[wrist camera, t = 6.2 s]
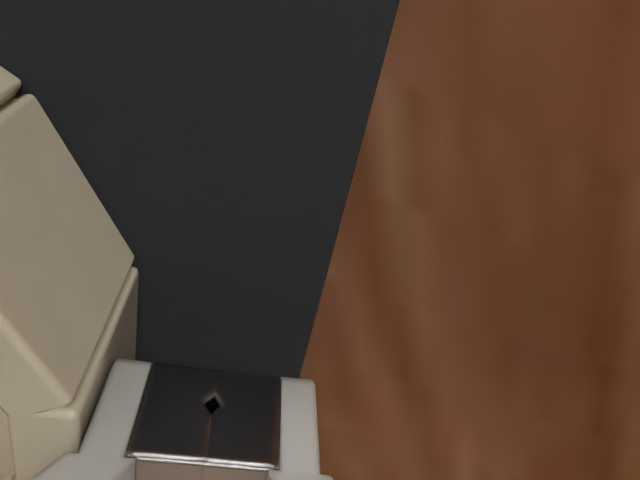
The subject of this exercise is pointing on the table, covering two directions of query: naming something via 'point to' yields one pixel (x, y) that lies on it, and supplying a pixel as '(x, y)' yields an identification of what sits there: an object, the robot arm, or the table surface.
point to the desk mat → (211, 153)
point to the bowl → (54, 291)
